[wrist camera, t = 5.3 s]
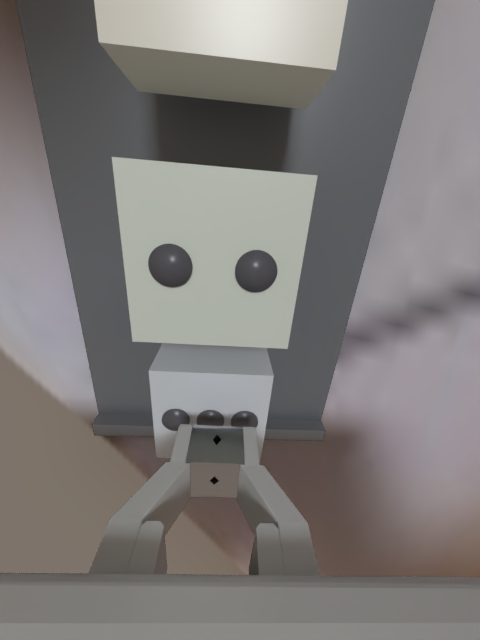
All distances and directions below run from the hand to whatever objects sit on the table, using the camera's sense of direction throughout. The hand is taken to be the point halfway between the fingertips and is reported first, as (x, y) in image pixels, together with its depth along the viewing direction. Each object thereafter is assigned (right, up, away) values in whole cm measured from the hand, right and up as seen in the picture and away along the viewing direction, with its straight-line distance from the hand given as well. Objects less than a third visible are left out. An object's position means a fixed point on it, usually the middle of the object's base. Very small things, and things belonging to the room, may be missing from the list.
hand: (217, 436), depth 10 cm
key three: (0, +1, +3) cm, 4 cm away
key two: (0, +7, -1) cm, 7 cm away
